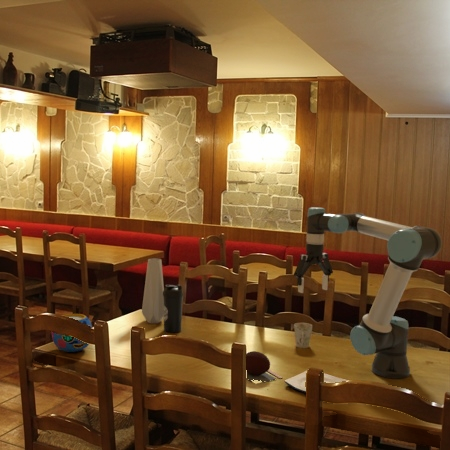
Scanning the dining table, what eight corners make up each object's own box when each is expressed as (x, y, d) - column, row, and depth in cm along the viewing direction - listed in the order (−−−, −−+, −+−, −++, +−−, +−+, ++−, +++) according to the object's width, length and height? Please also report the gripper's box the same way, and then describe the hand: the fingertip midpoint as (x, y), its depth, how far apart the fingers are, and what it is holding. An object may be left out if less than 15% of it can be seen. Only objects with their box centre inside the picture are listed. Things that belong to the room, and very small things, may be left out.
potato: (245, 368, 232) (246, 346, 231) (273, 373, 227) (274, 351, 226) (237, 375, 224) (237, 352, 223) (265, 380, 219) (266, 357, 218)
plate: (355, 387, 217) (355, 381, 216) (326, 403, 202) (326, 396, 201) (310, 373, 230) (310, 367, 230) (280, 387, 215) (280, 380, 215)
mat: (276, 379, 222) (276, 378, 222) (255, 384, 217) (255, 383, 216) (254, 367, 234) (254, 366, 234) (234, 371, 229) (234, 370, 229)
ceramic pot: (60, 360, 237) (60, 325, 235) (46, 348, 251) (45, 315, 250) (99, 352, 247) (99, 319, 246) (83, 341, 262) (83, 309, 260)
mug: (311, 343, 267) (311, 323, 266) (312, 352, 255) (313, 330, 254) (293, 342, 268) (294, 322, 267) (293, 351, 256) (294, 329, 254)
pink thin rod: (282, 378, 223) (282, 377, 223) (280, 378, 223) (280, 378, 223) (261, 366, 236) (261, 365, 236) (258, 366, 235) (258, 365, 235)
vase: (156, 317, 306) (157, 256, 302) (169, 322, 297) (170, 259, 293) (137, 320, 298) (137, 258, 294) (149, 325, 289) (150, 262, 285)
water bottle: (160, 328, 285) (161, 283, 283) (180, 327, 288) (181, 282, 286) (164, 334, 276) (165, 287, 273) (184, 332, 279) (185, 286, 276)
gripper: (330, 240, 256) (328, 286, 259) (286, 243, 243) (284, 291, 246) (342, 242, 250) (340, 290, 252) (297, 245, 237) (295, 295, 239)
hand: (312, 291), depth 249 cm, fingers open, 13 cm apart
